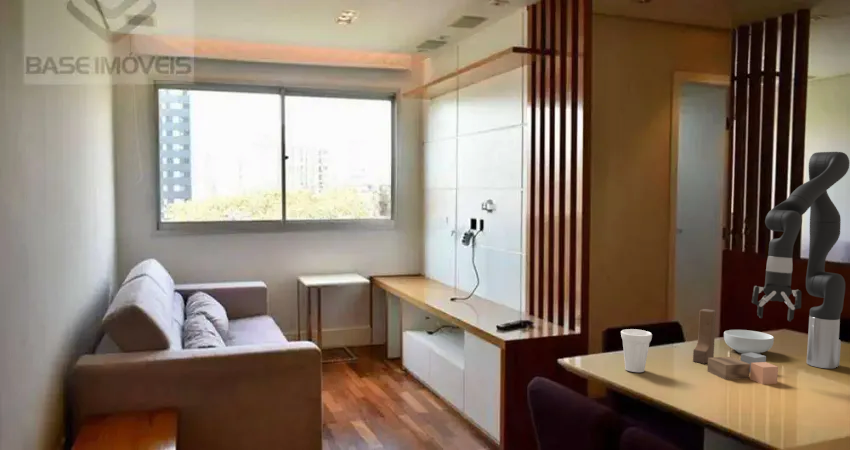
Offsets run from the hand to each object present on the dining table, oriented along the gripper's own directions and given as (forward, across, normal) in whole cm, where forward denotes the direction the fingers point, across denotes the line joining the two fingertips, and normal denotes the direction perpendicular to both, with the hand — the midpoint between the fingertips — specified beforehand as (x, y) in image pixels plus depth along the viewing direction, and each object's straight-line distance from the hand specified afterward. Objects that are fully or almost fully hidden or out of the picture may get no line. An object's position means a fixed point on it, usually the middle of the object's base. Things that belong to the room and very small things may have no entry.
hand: (774, 319), depth 215 cm
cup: (+21, +43, +10) cm, 49 cm away
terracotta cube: (+20, +3, +7) cm, 21 cm away
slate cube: (+19, +4, -5) cm, 20 cm away
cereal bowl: (+18, +1, -32) cm, 37 cm away
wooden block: (+19, +19, -13) cm, 30 cm away
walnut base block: (+20, +13, +3) cm, 24 cm away
